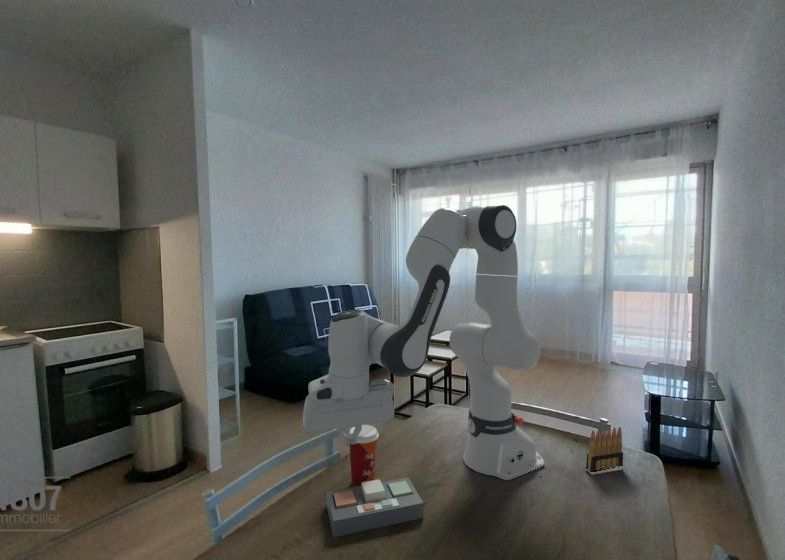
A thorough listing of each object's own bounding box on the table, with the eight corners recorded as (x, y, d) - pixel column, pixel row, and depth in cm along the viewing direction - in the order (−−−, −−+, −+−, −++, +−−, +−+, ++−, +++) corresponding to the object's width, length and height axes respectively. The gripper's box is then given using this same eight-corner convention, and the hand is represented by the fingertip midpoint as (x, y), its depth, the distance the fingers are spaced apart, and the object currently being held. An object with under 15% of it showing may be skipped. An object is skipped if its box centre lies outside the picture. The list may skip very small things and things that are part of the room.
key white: (379, 489, 89) (379, 479, 89) (384, 500, 85) (385, 490, 85) (361, 492, 88) (361, 482, 88) (365, 504, 84) (365, 494, 84)
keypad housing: (407, 490, 94) (408, 475, 93) (423, 517, 84) (423, 500, 84) (326, 506, 88) (326, 489, 87) (333, 537, 78) (333, 518, 78)
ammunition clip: (590, 475, 101) (593, 432, 100) (585, 471, 103) (587, 429, 102) (623, 470, 104) (625, 427, 103) (617, 466, 106) (619, 424, 105)
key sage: (405, 490, 92) (405, 480, 91) (411, 501, 87) (412, 491, 87) (388, 493, 90) (388, 483, 90) (393, 505, 86) (393, 495, 86)
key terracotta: (352, 500, 88) (352, 490, 87) (356, 512, 83) (356, 502, 83) (333, 503, 86) (333, 493, 86) (336, 516, 82) (336, 505, 82)
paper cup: (373, 495, 92) (374, 439, 91) (343, 491, 93) (343, 436, 92) (381, 476, 100) (381, 425, 99) (353, 473, 101) (353, 422, 100)
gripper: (389, 374, 90) (389, 430, 91) (301, 383, 84) (302, 443, 85) (398, 383, 84) (398, 443, 85) (303, 394, 78) (305, 458, 79)
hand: (349, 443), depth 85 cm, fingers closed
